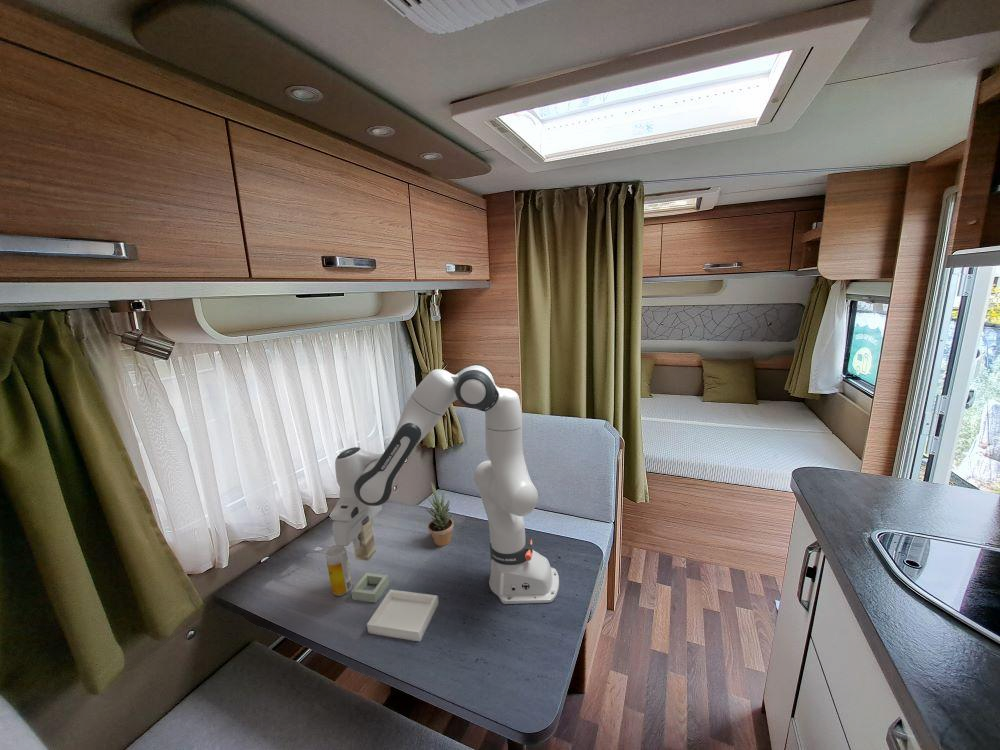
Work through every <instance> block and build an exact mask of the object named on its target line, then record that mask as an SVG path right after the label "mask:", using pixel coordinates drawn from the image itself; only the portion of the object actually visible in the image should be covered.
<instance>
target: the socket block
mask: <svg viewBox="0 0 1000 750" xmlns="http://www.w3.org/2000/svg"><path fill="white" fill-rule="evenodd" d="M389 578H390V577H389V575H388V574H380V573H379V574H378V573H370V572H365V574H364V575H363V576H362V577H361V578H360V580H359V581H358V582H357V583H356V585H355V586H354V587H353V589H352V590H350V591H351V597H352V600H354V601H355V600H356V601H362V602H370V603H375V604H376V603H377V602H378V600H379V599H380V598H381V596H382V595H383V593H384V592H385V591H386V589H387V587H388V586H389V584H390V580H389ZM368 585H376V586H375V588H374V589H373V590H368V589H366V587H367V586H368Z"/></svg>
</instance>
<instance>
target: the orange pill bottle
mask: <svg viewBox="0 0 1000 750" xmlns="http://www.w3.org/2000/svg"><path fill="white" fill-rule="evenodd" d="M347 552H348V551H347V549H346V546H339V545H337V544H334V545H331V546H330V547H329V548H327V550H326V553H325V561H326V566H327V571H328V575H329V582H330V586H331V592H332V594H333V595H335V596H338V597H339V596H340V597H342V596H343V595H346V594H348V593H349V592H350V591H351V589H352V586H353V582H352V577H351V576H352V575H351V570H350V565H349V559H348V553H347Z"/></svg>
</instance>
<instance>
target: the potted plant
mask: <svg viewBox="0 0 1000 750" xmlns="http://www.w3.org/2000/svg"><path fill="white" fill-rule="evenodd" d="M430 483H431V489H432V494H433V496H432V497H431V498H432V500H431V499H430V498H429V496H427V500H428V501H429V503H430V504H431V506H430V508H429V509H428V508H426V511H427V512H428V513H429V514H430V515H431V516H432V517H430V519H431V521H430V522H429V524H428V525H427V527H428V528H427V529H428V532H429V534H430V535H431V537H432V538H433V541H434V543H435V545H436V546H438V547H444V546H447V545H448V544H450V543H451V540H452V532H453V529H454V520H453V519H452V518H451V517H453V515H452V514H451V515H449V512H450V509H451V507H450V502H451V501H450V499H448V500H447V502H446V504H445V500H446V499H445V498H446V496H445V495H446V492H445V490H444V491H443V492H442V496H441V500H440V499H439V497H438V494H437V490H436V484H433V482H430ZM443 545H444V546H443Z"/></svg>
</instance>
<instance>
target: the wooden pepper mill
mask: <svg viewBox="0 0 1000 750" xmlns="http://www.w3.org/2000/svg"><path fill="white" fill-rule="evenodd" d="M373 531H374V530H373V524H371V518H369V516H367V517H366V518H365V519H364V520H363V521H362V531H361V532H360V533H359V534H358V539H361V542H362V544H361V545H360V546H359V547H354V543H353V542H352V544H353V545H352V546H353V550H354V556H355V560H357V561H365V562H366V561H367V562H369V561H370V560H371V558H372V557H373V556H374V555H375V554H376V552H377V548H376V543H375V537H374V532H373Z"/></svg>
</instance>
